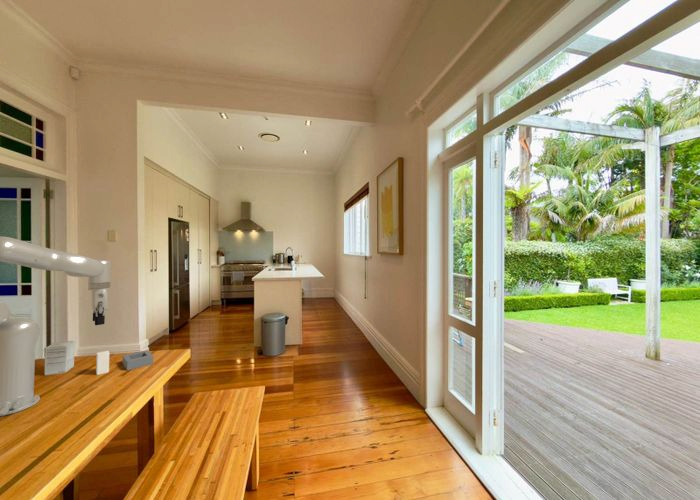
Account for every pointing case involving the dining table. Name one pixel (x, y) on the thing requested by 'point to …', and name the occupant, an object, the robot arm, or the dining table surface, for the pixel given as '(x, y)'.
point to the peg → (102, 362)
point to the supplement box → (59, 357)
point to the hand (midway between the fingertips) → (98, 322)
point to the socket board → (137, 359)
